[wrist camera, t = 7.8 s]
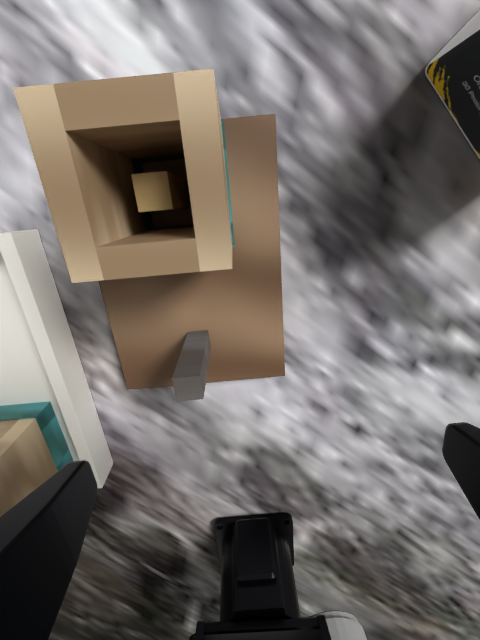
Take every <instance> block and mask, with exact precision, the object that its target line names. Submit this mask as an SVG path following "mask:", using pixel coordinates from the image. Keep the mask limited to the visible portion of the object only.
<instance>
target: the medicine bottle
mask: <svg viewBox="0 0 480 640" xmlns="http://www.w3.org/2000/svg"><path fill="white" fill-rule="evenodd" d="M425 74H426V77H427V78H428V80H429V81H430V83H431V85H432V86H433V88H434V89H435V91H436V92H437V94H438V96H439V97H440V99H441V100H442V102H443V103H444V105H445V106H446V108H447V110H448V111H449V113H450V114H451V116H452V117H453V119H454V120H455V122H456V124H457V125H458V127H459V128H460V130H461V131H462V133H463V135H464V136H465V138H466V139H467V141H468V142H469V144H470V145H471V147H472V149H473V150H474V152H475V153H476V155H477V156H478V158H479V159H480V10H479V11H478V12H477V13H476V14H475V15H474V16H473V17H472V18H471V19H470V20H469V21H468V22H467V23H466V24H465V25H464V27H463V28H462V29H461V30H460V31H459V32H458V33H457V34H456V35H455V36H454V37H453V38H452V39H451V40H450V41H449V42H448V43H447V44H446V45H445V46H444V47H443V48H442V50H441V51H440V52H439V53H438V54H437V55H436V56H435V57H434V58H433V59H432V60H431V61H430V62H429V64H428V65H427V67H426V70H425Z"/></svg>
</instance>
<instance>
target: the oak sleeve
mask: <svg viewBox="0 0 480 640" xmlns="http://www.w3.org/2000/svg"><path fill="white" fill-rule="evenodd" d="M13 89H14V92H15V95H16V99H17V102H18V105H19V109H20V112H21V115H22V119H23V122H24V125H25V129H26V132H27V135H28V139H29V142H30V145H31V149H32V152H33V155H34V159H35V162H36V165H37V169H38V172H39V175H40V179H41V182H42V185H43V189H44V192H45V195H46V199H47V202H48V205H49V208H50V212H51V215H52V218H53V222H54V225H55V228H56V232H57V235H58V238H59V242H60V245H61V248H62V252H63V255H64V258H65V262H66V265H67V268H68V272H69V275H70V278H71V282H72V283H79V282H90V281H101V280H112V279H124V278H135V277H146V276H157V275H169V274H180V273H191V272H202V271H213V270H225V269H232V247H235V243H234V231H233V220H232V209H231V198H230V186H229V175H228V164H227V153H226V142H225V130H224V121H223V120H221V118H220V111H219V104H218V97H217V91H216V84H215V77H214V70H213V69H205V70H195V71H184V72H174V73H163V74H153V75H142V76H132V77H122V78H111V79H101V80H90V81H80V82H69V83H59V84H48V85H38V86H27V87H17V88H13ZM178 159H185V164H186V171H187V179H188V186H189V194H190V201H191V208H192V216H193V223H194V224H192V225H181V226H170V227H159V228H153V223H152V218H151V213H150V211H147V212H139V211H138V206H137V201H136V196H135V191H134V186H133V181H132V176H131V174H139V173H143V169H142V164H141V163H145V162H156V161H167V160H178Z"/></svg>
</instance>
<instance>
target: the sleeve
mask: <svg viewBox="0 0 480 640" xmlns="http://www.w3.org/2000/svg"><path fill="white" fill-rule="evenodd" d="M72 461H73V458H72V455H71V453H70V450H69V448H68V445H67V443H66V440H65V437H64V435H63V432H62V430H61V427H60V425H59V422H58V419H57V417H56V414H55V412H54V409H53V407H52V404H51V402H50V401H49V402H37V403H26V404H14V405H3V406H0V516H2V515H3V514H4V513H5V512H7V511H8V510H9V509H11V508H12V507H13V506H14V505H16V504H17V503H18V502H19V501H21V500H22V499H23V498H25V497H26V496H27V495H28V494H30V493H31V492H32V491H33V490H35V489H36V488H37V487H39V486H40V485H41V484H42V483H44V482H45V481H46V480H47V479H49V478H50V477H51V476H53V475H54V474H55V473H56V472H58V471H59V470H60V469H61V468H63V467H64V466H65V465H67V464H68V463H70V462H72Z"/></svg>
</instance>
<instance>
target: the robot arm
mask: <svg viewBox="0 0 480 640" xmlns="http://www.w3.org/2000/svg"><path fill="white" fill-rule="evenodd" d="M442 452H443V456H444V459H445V461H446V463H447V465H448V466H449V468H450V470H451V471H452V473H453V475H454V477H455V478H456V480H457V482H458V483H459V485H460V487H461V489H462V490H463V492H464V494H465V495H466V497H467V499H468V501H469V502H470V504H471V506H472V508H473V509H474V511H475V513H476V514H477V516H478V518H479V519H480V428H477V427H475V426H473V425H471V424H469V423H464V422H462V423H452V424H448V425H447V427H446V429H445V435H444V442H443V448H442ZM96 495H97V482H96V479H95V476H94V474H93V471H92V468H91V465H90V463H89V462H88V461H86V460H81V461H72V462H70V463H68V464H67V465H65V466H64V467H63V468H61V469H60V470H59V471H58V472H56V473H55V474H54V475H53V476H51V477H50V478H49V479H47V480H46V481H45V482H44V483H42V484H41V485H40V486H39V487H37V488H36V489H35V490H33V491H32V492H31V493H30V494H28V495H27V496H26V497H25V498H23V499H22V500H21V501H19V502H18V503H17V504H16V505H14V506H13V507H12V508H11V509H9V510H8V511H7V512H5V513H4V514H3V515H2V516H0V640H48V638H49V635H50V633H51V630H52V627H53V625H54V622H55V620H56V617H57V614H58V612H59V609H60V606H61V604H62V601H63V599H64V596H65V593H66V591H67V588H68V586H69V583H70V580H71V578H72V575H73V572H74V569H75V567H76V564H77V561H78V558H79V554H80V551H81V548H82V544H83V541H84V537H85V534H86V530H87V527H88V523H89V520H90V516H91V513H92V509H93V506H94V502H95V499H96ZM214 533H215V538H216V544H217V549H218V555H219V560H220V566H221V597H220V622H207V623H205V621H197V627H196V633H195V634H193V635H192V636H190V639H189V640H331V636H330V633H329V629H328V626H327V622H326V619H325V615H316V617H302V618H301V616H300V610H299V604H298V598H297V592H296V586H295V579H294V573H293V567H292V566H293V565H294V548H293V521H292V516H291V515H290V514H288V513H283V514H271V515H259V516H247V517H235V518H223V519H217V520H215V521H214Z"/></svg>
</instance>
